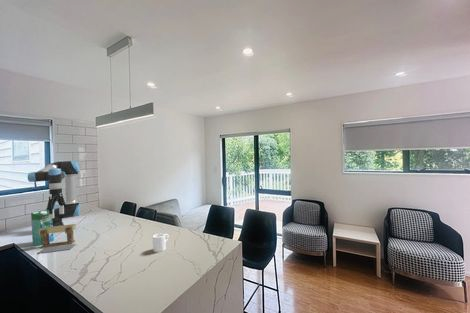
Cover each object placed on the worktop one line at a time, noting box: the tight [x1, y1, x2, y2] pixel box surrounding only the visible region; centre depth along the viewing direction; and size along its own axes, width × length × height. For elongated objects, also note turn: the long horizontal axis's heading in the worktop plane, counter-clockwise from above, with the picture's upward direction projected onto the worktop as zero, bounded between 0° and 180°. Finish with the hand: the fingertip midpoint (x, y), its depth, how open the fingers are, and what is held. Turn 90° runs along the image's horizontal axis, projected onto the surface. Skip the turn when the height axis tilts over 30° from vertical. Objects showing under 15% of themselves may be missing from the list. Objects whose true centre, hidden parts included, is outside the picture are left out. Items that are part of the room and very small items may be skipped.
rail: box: [39, 223, 76, 235], centre depth 164 cm, size 22×4×4 cm, turn 105°
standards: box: [40, 227, 76, 249], centre depth 164 cm, size 7×20×13 cm, turn 105°
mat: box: [36, 243, 77, 255], centre depth 155 cm, size 9×20×1 cm, turn 105°
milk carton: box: [30, 209, 55, 246], centre depth 170 cm, size 9×9×25 cm
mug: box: [152, 232, 170, 253], centre depth 148 cm, size 8×12×10 cm
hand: (56, 216), depth 164 cm, fingers open, 13 cm apart
